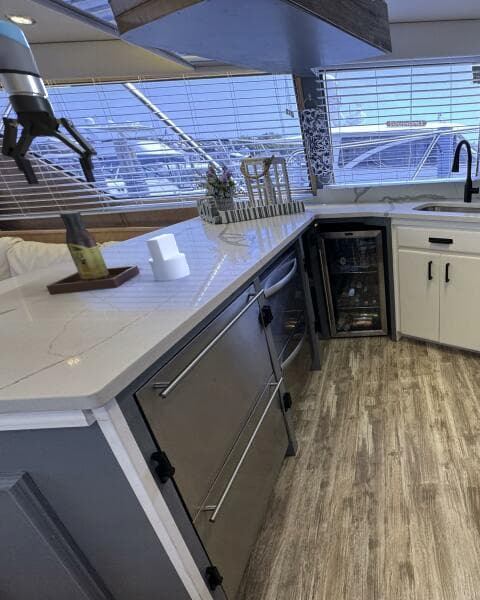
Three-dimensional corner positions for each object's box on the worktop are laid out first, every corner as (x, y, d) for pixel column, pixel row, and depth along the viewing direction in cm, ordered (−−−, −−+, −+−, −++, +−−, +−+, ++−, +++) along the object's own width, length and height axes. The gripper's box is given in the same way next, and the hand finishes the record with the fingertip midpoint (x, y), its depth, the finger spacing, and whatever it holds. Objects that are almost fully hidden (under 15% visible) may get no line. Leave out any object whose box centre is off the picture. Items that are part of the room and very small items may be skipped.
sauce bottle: (78, 283, 93) (46, 213, 85) (103, 276, 98) (75, 210, 90) (92, 286, 90) (59, 214, 83) (116, 278, 96) (88, 210, 88)
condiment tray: (50, 294, 87) (45, 286, 86) (82, 278, 99) (78, 271, 98) (116, 287, 90) (113, 279, 89) (139, 273, 102) (137, 265, 101)
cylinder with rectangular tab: (165, 272, 102) (152, 234, 97) (195, 270, 102) (184, 232, 98) (148, 282, 93) (133, 241, 89) (181, 279, 94) (167, 239, 89)
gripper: (94, 100, 90) (121, 181, 98) (-19, 98, 84) (19, 184, 92) (76, 94, 83) (107, 182, 91) (-48, 92, 77) (-3, 185, 85)
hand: (63, 183), depth 92 cm, fingers open, 13 cm apart
